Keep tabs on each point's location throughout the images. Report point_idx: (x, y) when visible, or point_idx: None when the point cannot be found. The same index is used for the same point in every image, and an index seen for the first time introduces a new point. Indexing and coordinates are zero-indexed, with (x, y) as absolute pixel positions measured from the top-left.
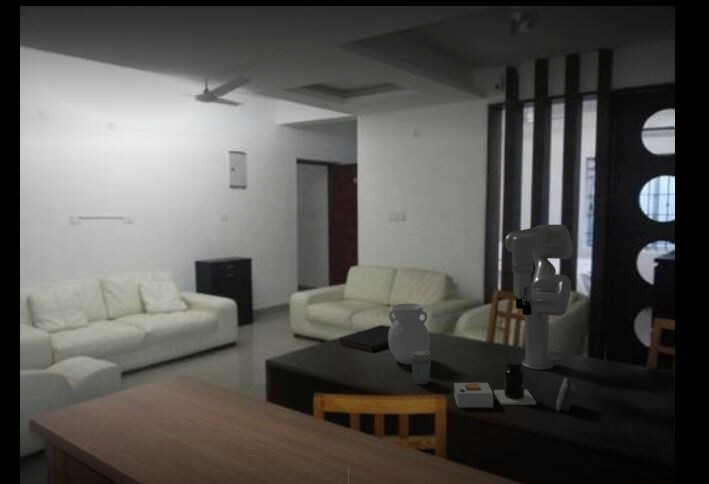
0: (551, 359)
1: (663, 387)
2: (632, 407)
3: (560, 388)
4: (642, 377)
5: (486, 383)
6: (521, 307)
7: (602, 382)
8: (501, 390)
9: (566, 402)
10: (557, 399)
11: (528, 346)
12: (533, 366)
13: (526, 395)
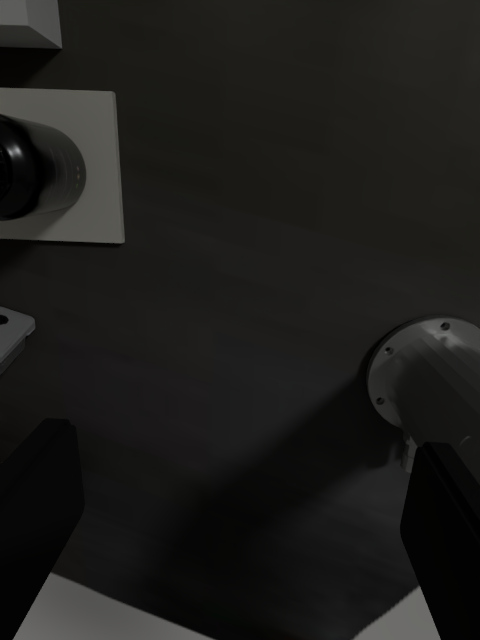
0: (404, 433)
1: (174, 616)
2: None
3: (1, 346)
4: (254, 608)
5: (15, 15)
6: (411, 511)
7: (218, 505)
8: (106, 127)
9: (23, 343)
10: (5, 317)
11: (458, 376)
12: (384, 348)
13: (57, 221)
